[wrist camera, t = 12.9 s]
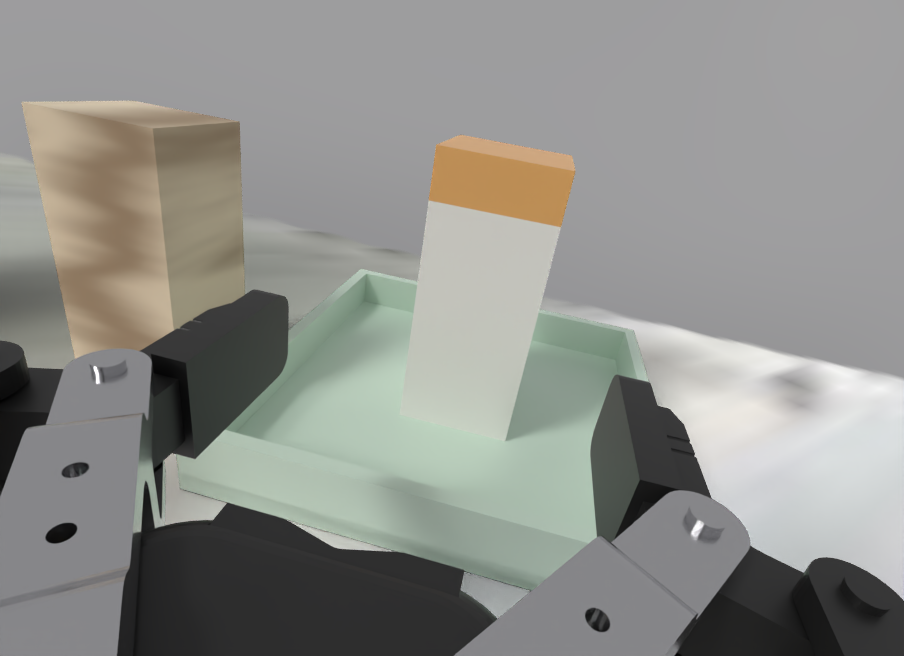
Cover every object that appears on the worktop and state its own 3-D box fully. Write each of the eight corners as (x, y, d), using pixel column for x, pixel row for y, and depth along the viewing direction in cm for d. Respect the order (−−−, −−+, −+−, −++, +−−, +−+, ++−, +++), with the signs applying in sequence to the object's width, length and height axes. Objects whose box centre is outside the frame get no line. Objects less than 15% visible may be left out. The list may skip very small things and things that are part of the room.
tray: (180, 488, 19) (173, 428, 17) (357, 306, 35) (361, 268, 33) (674, 631, 17) (706, 575, 15) (619, 368, 33) (633, 330, 31)
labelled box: (399, 414, 23) (436, 144, 18) (425, 363, 28) (460, 134, 22) (505, 441, 23) (575, 171, 17) (513, 384, 27) (572, 155, 22)
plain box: (81, 391, 22) (21, 101, 17) (161, 342, 27) (133, 100, 22) (182, 418, 22) (152, 128, 17) (246, 364, 26) (239, 121, 21)
